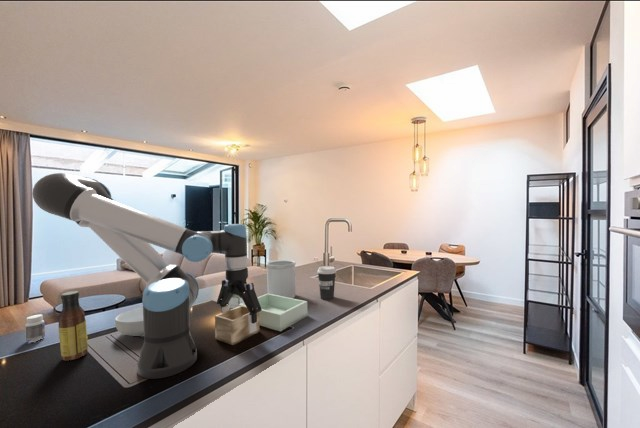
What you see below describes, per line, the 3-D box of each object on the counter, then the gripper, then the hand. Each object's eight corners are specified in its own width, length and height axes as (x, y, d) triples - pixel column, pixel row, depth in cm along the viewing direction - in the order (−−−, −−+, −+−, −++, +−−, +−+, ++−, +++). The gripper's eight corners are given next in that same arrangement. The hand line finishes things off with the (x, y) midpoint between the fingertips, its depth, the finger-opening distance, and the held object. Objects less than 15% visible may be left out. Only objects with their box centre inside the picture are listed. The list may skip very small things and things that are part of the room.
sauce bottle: (85, 349, 90) (83, 288, 90) (90, 355, 86) (88, 291, 86) (57, 357, 85) (55, 293, 85) (61, 365, 81) (59, 296, 81)
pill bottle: (47, 339, 98) (46, 315, 98) (28, 344, 94) (27, 320, 94) (42, 336, 100) (41, 312, 100) (23, 341, 96) (22, 317, 96)
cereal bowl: (180, 325, 108) (179, 307, 108) (142, 345, 92) (141, 324, 92) (145, 321, 113) (144, 303, 112) (103, 339, 97) (102, 319, 96)
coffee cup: (314, 296, 141) (313, 266, 140) (331, 293, 145) (330, 265, 144) (322, 302, 132) (322, 270, 132) (340, 299, 136) (339, 268, 136)
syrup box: (244, 305, 130) (244, 274, 129) (239, 309, 124) (239, 277, 123) (232, 304, 130) (232, 273, 130) (227, 309, 124) (226, 277, 124)
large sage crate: (280, 331, 101) (280, 314, 101) (238, 319, 113) (238, 304, 113) (307, 315, 115) (307, 301, 115) (268, 306, 127) (267, 293, 127)
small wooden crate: (232, 345, 91) (232, 321, 91) (215, 338, 96) (214, 315, 96) (259, 331, 101) (259, 309, 101) (242, 326, 106) (241, 305, 106)
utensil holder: (261, 300, 136) (260, 264, 135) (273, 291, 150) (273, 259, 150) (290, 302, 132) (289, 265, 132) (299, 293, 147) (299, 260, 146)
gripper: (270, 269, 95) (272, 331, 95) (222, 263, 108) (224, 317, 108) (254, 273, 88) (256, 340, 89) (205, 266, 102) (207, 324, 102)
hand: (238, 327), depth 99 cm, fingers open, 13 cm apart
